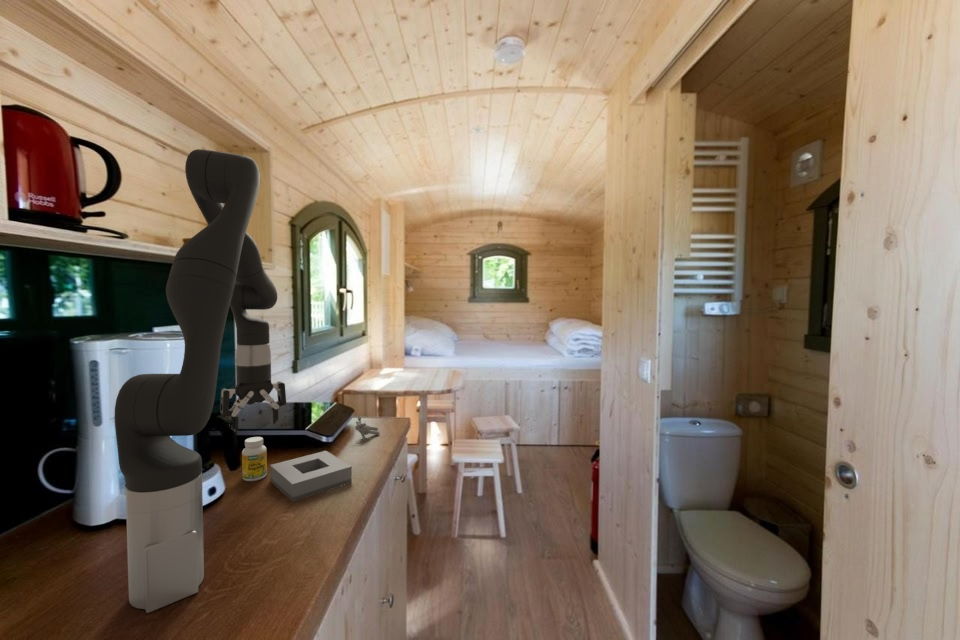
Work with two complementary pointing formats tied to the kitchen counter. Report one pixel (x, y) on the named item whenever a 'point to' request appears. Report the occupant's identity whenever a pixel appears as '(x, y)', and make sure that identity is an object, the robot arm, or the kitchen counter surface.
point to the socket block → (310, 475)
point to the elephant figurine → (365, 429)
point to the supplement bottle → (254, 459)
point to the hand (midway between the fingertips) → (254, 426)
